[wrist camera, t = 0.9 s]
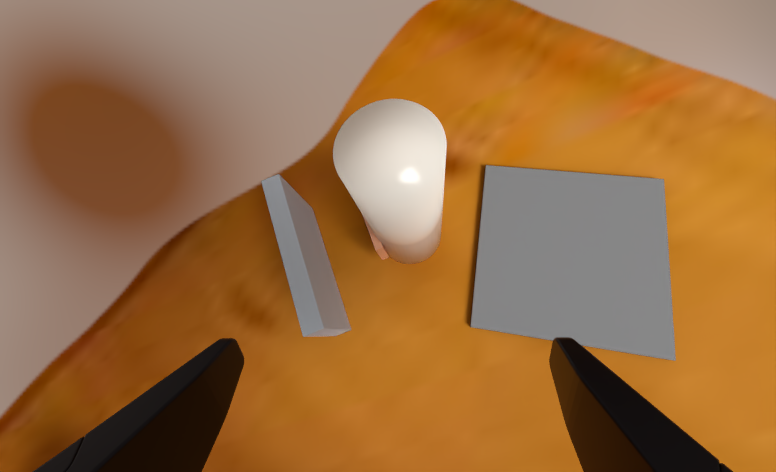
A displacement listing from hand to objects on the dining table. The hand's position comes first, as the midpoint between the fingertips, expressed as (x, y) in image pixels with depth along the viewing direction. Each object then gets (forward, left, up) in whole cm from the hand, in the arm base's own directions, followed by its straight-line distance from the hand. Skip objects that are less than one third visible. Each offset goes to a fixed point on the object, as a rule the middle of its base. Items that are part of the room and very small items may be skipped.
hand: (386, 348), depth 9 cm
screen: (+4, +8, -14) cm, 16 cm away
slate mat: (+7, -10, -14) cm, 18 cm away
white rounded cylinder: (+7, +1, -14) cm, 16 cm away
